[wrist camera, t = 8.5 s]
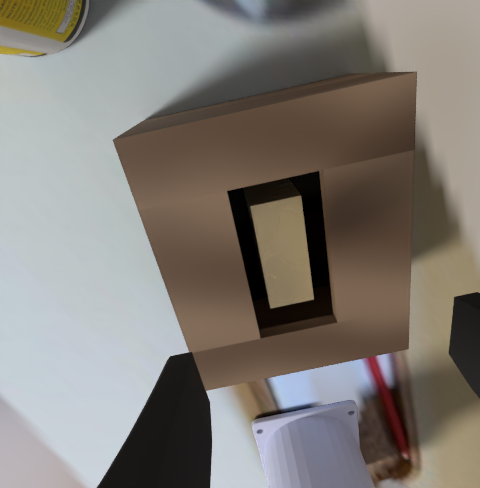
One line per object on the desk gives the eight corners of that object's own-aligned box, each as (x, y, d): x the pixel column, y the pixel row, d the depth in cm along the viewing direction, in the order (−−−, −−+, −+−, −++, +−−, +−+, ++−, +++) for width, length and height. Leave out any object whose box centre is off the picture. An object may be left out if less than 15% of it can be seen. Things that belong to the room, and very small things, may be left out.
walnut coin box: (361, 284, 21) (408, 349, 16) (205, 317, 21) (203, 391, 16) (352, 73, 16) (417, 71, 11) (143, 120, 16) (112, 139, 11)
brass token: (290, 249, 20) (313, 299, 15) (257, 256, 20) (270, 308, 15) (278, 165, 18) (301, 195, 13) (240, 173, 18) (250, 206, 13)
